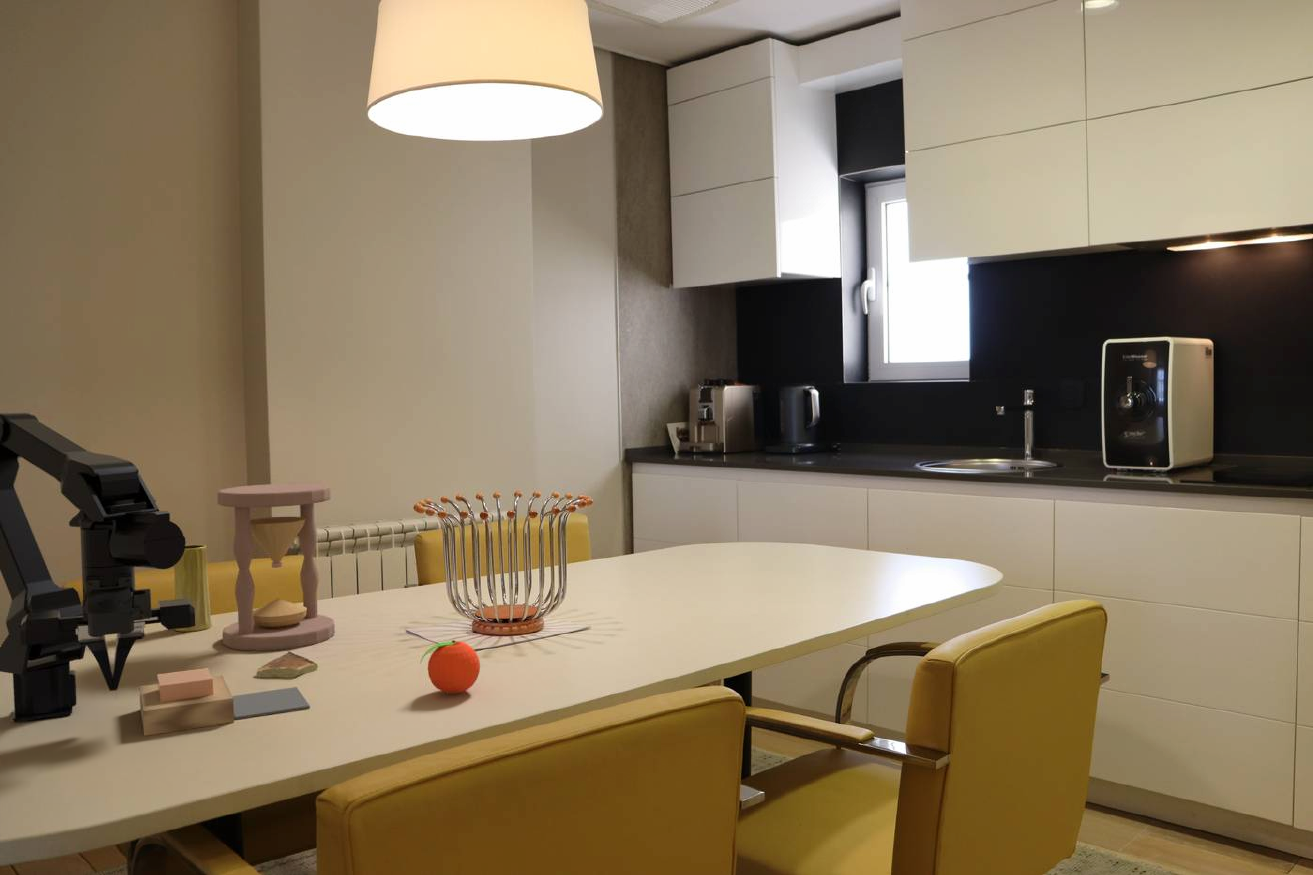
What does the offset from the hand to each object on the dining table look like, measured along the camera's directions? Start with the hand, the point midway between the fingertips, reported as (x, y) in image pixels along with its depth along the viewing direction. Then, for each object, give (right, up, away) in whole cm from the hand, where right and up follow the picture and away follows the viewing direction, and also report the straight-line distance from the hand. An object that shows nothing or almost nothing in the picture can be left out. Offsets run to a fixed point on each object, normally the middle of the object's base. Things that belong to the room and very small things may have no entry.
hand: (113, 690), depth 130 cm
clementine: (+39, -4, +12) cm, 41 cm away
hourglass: (+4, -3, +45) cm, 46 cm away
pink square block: (+7, -1, +4) cm, 8 cm away
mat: (+16, -4, +9) cm, 18 cm away
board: (+7, -4, +4) cm, 9 cm away
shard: (+11, -4, +26) cm, 28 cm away
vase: (-14, -2, +54) cm, 56 cm away
